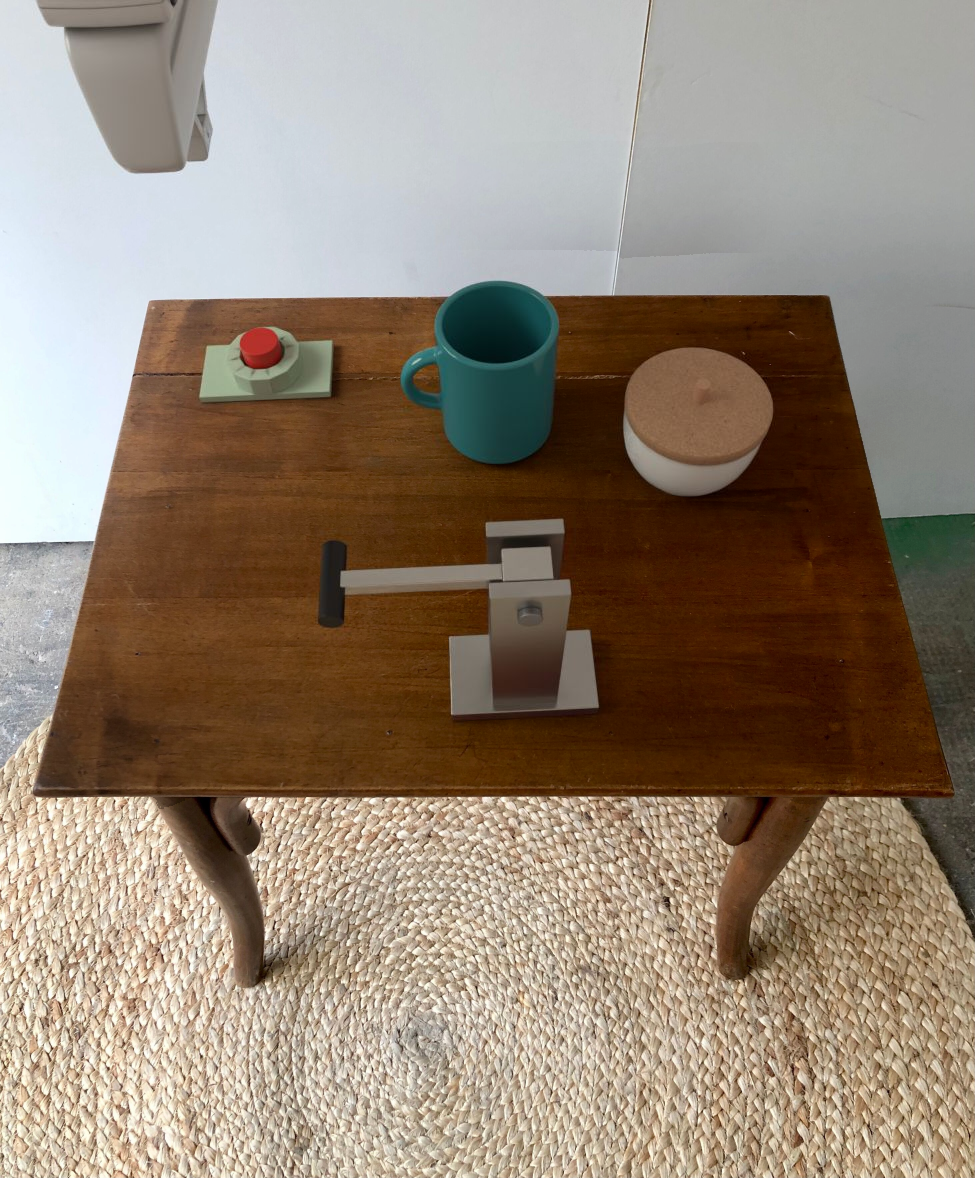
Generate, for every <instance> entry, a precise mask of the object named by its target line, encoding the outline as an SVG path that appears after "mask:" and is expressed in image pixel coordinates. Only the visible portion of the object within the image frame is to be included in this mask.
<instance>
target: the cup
mask: <svg viewBox="0 0 975 1178" xmlns="http://www.w3.org/2000/svg"><path fill="white" fill-rule="evenodd" d="M559 334H560V319H559V316H558V313H557V311H556V308H555V307H554V305H553V304H552V302H551V301H550V300H549V299H548V298H547V297H546V296H544V295H543V294H542V293H541V292H539V291H538V290H537V289H534V288H532V287H530V286H529V285H525V284H522V283H519V282H515V281H509V280H486V281H480V282H476V283H473V284H469V285H467V286H465V287H462V288H461V289H459V290H457V291H455V292H453V293H452V294H451V295H449V296H448V297H447V299H445V300H444V302H442V304H441V305H440V307H439V309H438V310H437V313H436V316H435V319H434V339H435V344H434V346H432V347H428V348H424V349H422V350H420V351H418V352H416V353H414V354H413V355H411V356H410V357H409V358H408V359H407V360H406V361H405V363H404V364H403V366H402V368H401V371H400V378H399V379H400V380H399V381H400V386H401V390H402V391H403V393H404V395H405V396H406V397H407V399H408V400H409V401H411V402H412V403H413V404H415V405H417V406H418V407H419V406H420V407H421V408H425V409H429V410H439V411H440V412H441V419H442V427H443V431H444V434H445V436H446V439H447V440H448V441H449V443H450V444H451V445H452V447H453V448H454V449H455V450H457V452H458V453H460V454H462V455H463V456H465V457H466V458H468V459H471V460H473V461H476V462H479V463H483V464H488V465H506V464H512V463H517V462H518V461H519V462H520V461H522V460H524V459H526V458H528V457H530V456H532V455H533V454H534V453H536V452H537V451H538V450H539V449H541V447H543V446H544V444H545V442H546V441H547V440H548V438H549V436H550V434H551V432H552V431H551V430H552V426H553V419H554V404H555V393H556V392H555V390H556V379H557V378H556V376H557V364H558V363H557V362H558V349H559V348H558V347H559ZM433 365H436V366H437V373H438V382H439V383H438V384H439V392H437V393H435V392H434V393H433V392H428V391H426V390H422V389H421V388H419V387H418V386H417V385H416V384H415V383H414V377H415V375H416V374H417V373H418V372H419V371H421V370H422V369H424V368H426V367H428V366H433Z"/></svg>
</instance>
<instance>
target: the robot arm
mask: <svg viewBox="0 0 975 1178" xmlns="http://www.w3.org/2000/svg"><path fill="white" fill-rule="evenodd" d="M35 2H36V5H37V7H38V9H39V12H40V14H41V17H42V18H43V21H44V22H45V23H46V25H48V26H49V27H52V28H53V27H55V28H63V37H64V43H65V44H64V45H65V49H66V53H67V57H68V60H69V64H70V66H71V69H72V72H73V74H74V76H75V80H76V82H77V84H78V87H79V89H80V91H81V93H82V95H83V98H84V100H85V103H86V105H87V107H88V110H89V112H90V113H91V116H92V118H93V121H94V122H95V125H96V127H97V128H98V132H99V133H100V135H101V137H102V139H103V142H104V144H105V145H106V147H107V149H108V151H109V153H110V155H111V156H112V158H113V160H114V161H115V162H116V163H117V164H118V165H119V166H120V167H121V168H122V169H123V170H125V171H126V172H128V173H131V174H136V175H137V174H163V173H164V174H165V173H176V172H181V171H182V170H184V169H185V167H186V165H187V163H191V162H205V161H207V160H208V158H209V153H210V148H211V142H212V141H211V140H212V136H213V132H214V131H213V130H214V128H213V125H212V121H211V118H210V115H209V114H210V113H209V111H208V101H207V91H206V83H205V68H206V63H207V60H208V59H207V58H208V53H209V48H210V42H211V38H212V33H213V29H214V28H213V27H214V22H215V18H216V13H217V7H218V2H219V0H35Z"/></svg>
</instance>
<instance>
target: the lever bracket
mask: <svg viewBox="0 0 975 1178" xmlns="http://www.w3.org/2000/svg"><path fill="white" fill-rule="evenodd" d="M565 534H566V533H565V522H564V518H549V519H547V518H546V519H531V520H528V519H527V520H508V521H505V520H504V521H487V522H485V553H486V555H485V556H486V564H499V563H500V564H501V549H502V548H522V547H544V546H550V547H551V555H552V566H553V576H554V580H544V581H523V582H502V583H489V588H486V591H487V624H488V627H487V628H488V634H487V633H486V634H469V635H467V634H466V635H449V637H448V651H449V655H448V656H449V657H448V658H449V689H450V691H449V693H450V718H451V721H452V722H458V721H459V722H461V721H481V720H485V721H486V720H500V719H501V720H503V719H522V718H544V717H565V716H567V717H568V716H584V715H585V716H587V715H598V713H599V708H600V702H599V694H598V686H597V678H596V677H597V676H596V669H595V661H594V652H593V651H594V650H593V644H592V643H593V642H592V634H591V629H572V630H567V629H568V623H569V616H570V607H571V600H572V587H571V580H570V579H566V578H565V579H561V572H562V564H563V563H562V562H563V561H562V560H563V554H564V552H563V551H564V544H565Z"/></svg>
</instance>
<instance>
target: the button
mask: <svg viewBox="0 0 975 1178" xmlns="http://www.w3.org/2000/svg"><path fill="white" fill-rule="evenodd" d="M245 332H246V333H245ZM245 332H244V333H245V334H244V335H243V336H242V337H241V339H240V348H241V351H242V354H243V357H244V360H245V362H246V364H247V365H248V366H249V367H251V368H253V369H268V368H270V367H273V366H275V365H277V364H278V363H279V362H280V360H281V358H282V350H281V346H280V343H279V340H278V336H277V334H276V333H275V332H274V331H272V330H271V329H268V328H258V327H254V328H251V329H249V330H247V331H245Z"/></svg>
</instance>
